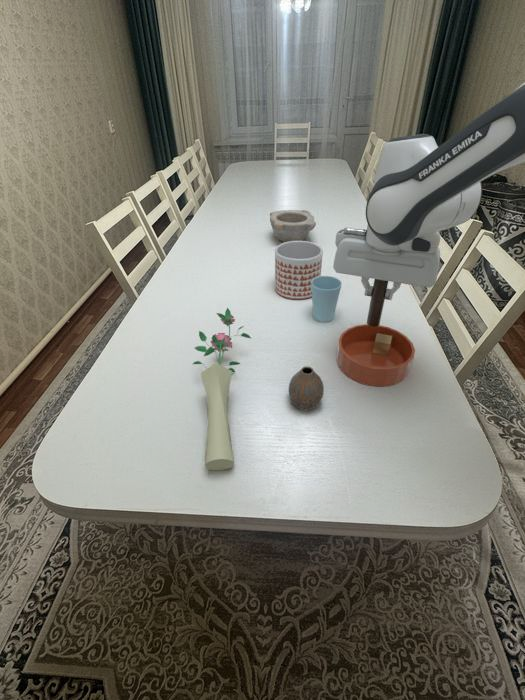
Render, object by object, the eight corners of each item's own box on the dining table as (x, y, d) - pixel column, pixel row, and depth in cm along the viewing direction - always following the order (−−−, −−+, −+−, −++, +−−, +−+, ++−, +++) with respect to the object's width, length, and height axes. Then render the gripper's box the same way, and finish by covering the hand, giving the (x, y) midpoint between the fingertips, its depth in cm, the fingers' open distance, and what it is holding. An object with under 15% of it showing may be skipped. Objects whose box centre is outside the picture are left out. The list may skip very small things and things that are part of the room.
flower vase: (207, 486, 67) (205, 344, 89) (269, 473, 65) (252, 330, 87) (176, 466, 58) (183, 313, 80) (247, 449, 56) (234, 297, 78)
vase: (325, 394, 75) (328, 362, 69) (318, 418, 70) (321, 386, 64) (293, 387, 77) (294, 355, 71) (284, 410, 72) (284, 378, 66)
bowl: (413, 350, 85) (418, 333, 82) (404, 395, 74) (409, 377, 71) (346, 335, 91) (348, 318, 88) (328, 374, 80) (330, 357, 76)
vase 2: (284, 303, 104) (285, 262, 96) (268, 283, 114) (268, 244, 106) (327, 295, 107) (331, 254, 99) (308, 275, 117) (310, 237, 109)
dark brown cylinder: (380, 321, 81) (391, 267, 73) (378, 327, 79) (389, 272, 71) (368, 319, 82) (377, 265, 74) (365, 325, 80) (375, 270, 72)
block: (389, 347, 86) (392, 335, 83) (387, 356, 83) (390, 344, 81) (374, 344, 87) (376, 332, 84) (372, 353, 84) (374, 341, 82)
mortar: (316, 246, 136) (317, 222, 130) (271, 248, 135) (271, 224, 130) (309, 231, 149) (310, 208, 143) (268, 232, 148) (268, 209, 143)
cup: (307, 323, 96) (309, 288, 89) (310, 308, 101) (312, 274, 95) (336, 326, 94) (340, 291, 88) (337, 310, 100) (341, 276, 94)
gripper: (332, 231, 69) (326, 294, 78) (447, 245, 62) (427, 313, 71) (341, 221, 74) (334, 282, 82) (449, 233, 67) (430, 298, 75)
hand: (378, 296), depth 76 cm, fingers closed on dark brown cylinder, 3 cm apart
